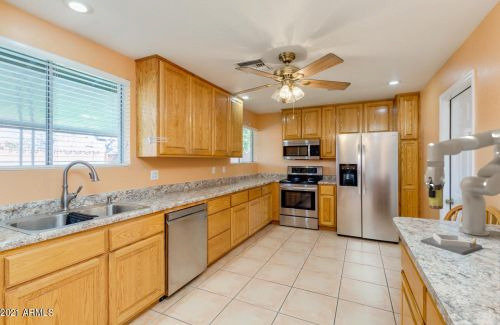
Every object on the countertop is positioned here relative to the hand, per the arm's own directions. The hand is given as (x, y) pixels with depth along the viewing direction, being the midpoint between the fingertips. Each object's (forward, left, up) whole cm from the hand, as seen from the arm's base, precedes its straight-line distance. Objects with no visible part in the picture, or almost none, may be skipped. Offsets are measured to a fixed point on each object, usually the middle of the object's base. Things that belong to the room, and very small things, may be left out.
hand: (435, 196), depth 131 cm
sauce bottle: (0, 0, -7) cm, 7 cm away
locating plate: (+12, +13, -21) cm, 27 cm away
